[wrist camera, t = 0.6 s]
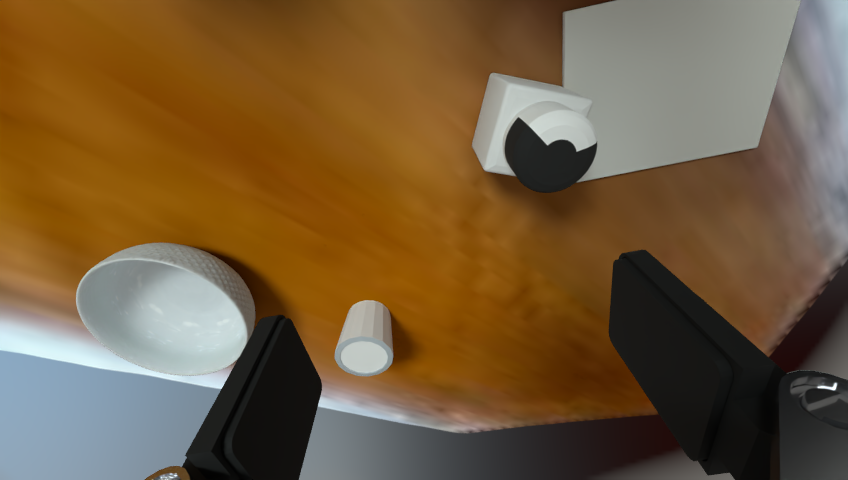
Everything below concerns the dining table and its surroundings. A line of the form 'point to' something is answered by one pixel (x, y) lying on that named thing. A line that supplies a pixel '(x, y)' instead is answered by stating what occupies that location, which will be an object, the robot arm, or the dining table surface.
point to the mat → (674, 76)
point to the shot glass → (365, 340)
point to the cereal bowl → (168, 308)
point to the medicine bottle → (535, 133)
